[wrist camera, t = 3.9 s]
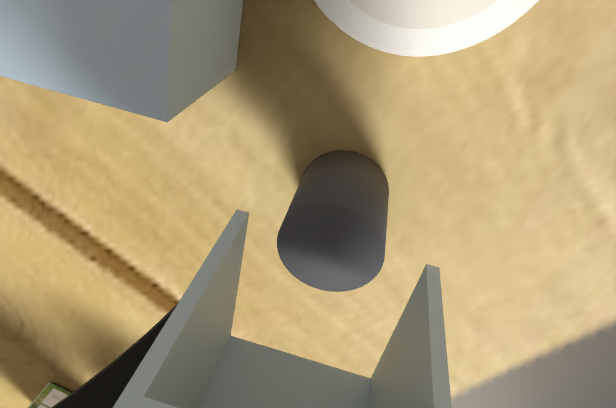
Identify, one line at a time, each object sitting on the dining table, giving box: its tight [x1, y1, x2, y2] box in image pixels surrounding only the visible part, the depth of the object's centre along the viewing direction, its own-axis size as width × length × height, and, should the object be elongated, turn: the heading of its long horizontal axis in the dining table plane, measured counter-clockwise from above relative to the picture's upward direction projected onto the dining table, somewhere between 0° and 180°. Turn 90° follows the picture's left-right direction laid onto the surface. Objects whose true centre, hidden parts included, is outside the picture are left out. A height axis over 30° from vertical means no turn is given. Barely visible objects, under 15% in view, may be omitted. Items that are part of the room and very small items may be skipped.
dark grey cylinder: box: [277, 151, 389, 292], centre depth 18 cm, size 4×4×4 cm
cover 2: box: [113, 210, 451, 408], centre depth 11 cm, size 6×6×6 cm
